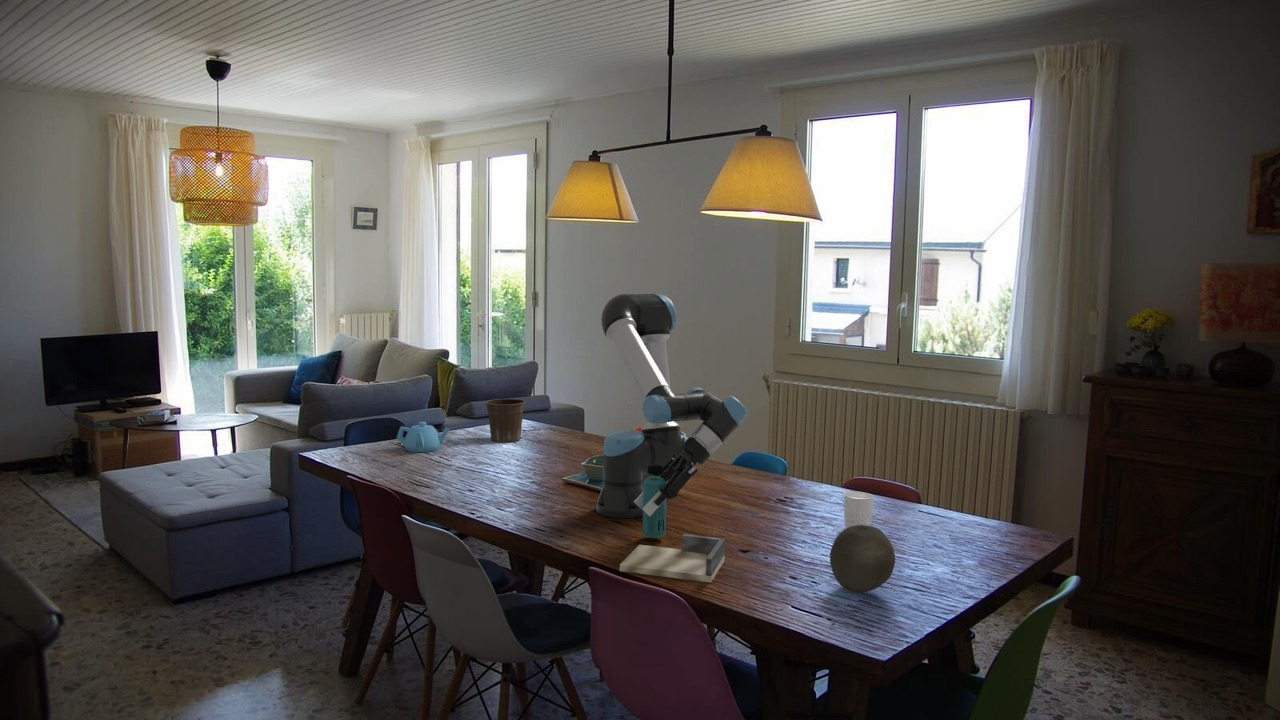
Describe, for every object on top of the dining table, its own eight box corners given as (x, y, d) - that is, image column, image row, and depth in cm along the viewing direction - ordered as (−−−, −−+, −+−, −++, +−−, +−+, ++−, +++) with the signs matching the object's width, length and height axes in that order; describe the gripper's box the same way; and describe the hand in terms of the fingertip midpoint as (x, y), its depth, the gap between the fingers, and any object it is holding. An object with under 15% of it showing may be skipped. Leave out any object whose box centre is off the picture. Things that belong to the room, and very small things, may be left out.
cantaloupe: (824, 598, 187) (827, 531, 185) (833, 577, 200) (836, 514, 198) (890, 608, 182) (894, 540, 180) (895, 586, 195) (899, 522, 193)
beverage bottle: (658, 544, 221) (660, 469, 219) (636, 540, 224) (638, 465, 222) (670, 538, 226) (672, 464, 224) (649, 533, 230) (651, 461, 228)
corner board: (619, 570, 201) (619, 548, 200) (639, 550, 216) (639, 529, 216) (710, 582, 195) (711, 559, 194) (724, 560, 210) (725, 538, 209)
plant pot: (479, 442, 346) (479, 403, 344) (492, 435, 362) (493, 397, 360) (518, 444, 343) (518, 405, 341) (529, 437, 359) (530, 399, 357)
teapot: (426, 443, 342) (426, 417, 340) (450, 449, 332) (450, 421, 331) (394, 449, 330) (394, 422, 329) (418, 455, 320) (418, 427, 319)
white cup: (855, 535, 232) (857, 500, 231) (836, 527, 239) (838, 493, 238) (877, 532, 236) (879, 497, 235) (858, 524, 243) (859, 490, 242)
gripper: (724, 462, 219) (663, 528, 215) (696, 447, 237) (639, 508, 234) (706, 443, 217) (643, 509, 213) (679, 429, 235) (621, 490, 232)
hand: (641, 508), depth 223 cm, fingers closed on beverage bottle, 6 cm apart
